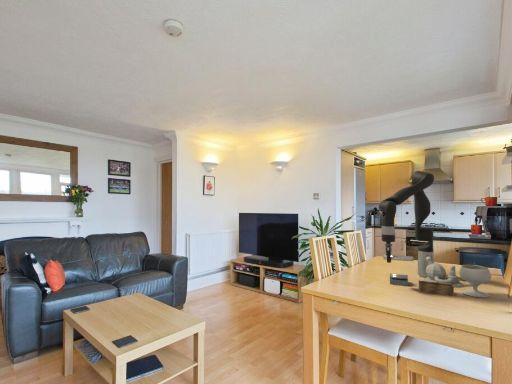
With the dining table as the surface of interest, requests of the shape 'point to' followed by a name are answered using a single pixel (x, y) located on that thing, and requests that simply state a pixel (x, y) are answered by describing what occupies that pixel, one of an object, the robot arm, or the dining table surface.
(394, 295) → the dining table surface
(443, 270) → the grey faceted sculpture
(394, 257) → the axle
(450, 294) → the grooved beam
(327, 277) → the dining table surface
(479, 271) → the chalice
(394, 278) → the V-block
